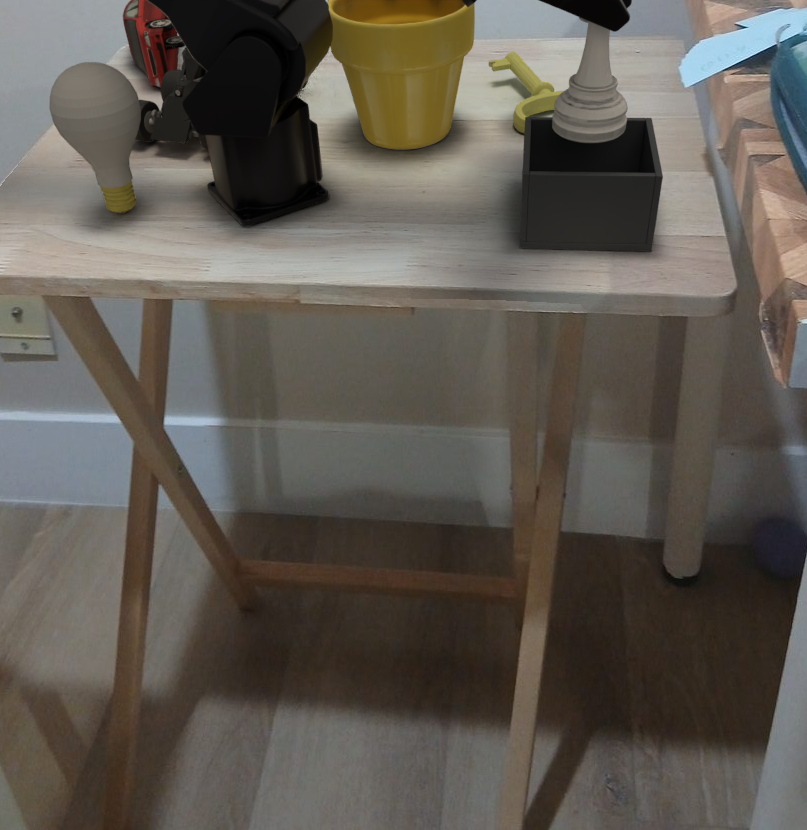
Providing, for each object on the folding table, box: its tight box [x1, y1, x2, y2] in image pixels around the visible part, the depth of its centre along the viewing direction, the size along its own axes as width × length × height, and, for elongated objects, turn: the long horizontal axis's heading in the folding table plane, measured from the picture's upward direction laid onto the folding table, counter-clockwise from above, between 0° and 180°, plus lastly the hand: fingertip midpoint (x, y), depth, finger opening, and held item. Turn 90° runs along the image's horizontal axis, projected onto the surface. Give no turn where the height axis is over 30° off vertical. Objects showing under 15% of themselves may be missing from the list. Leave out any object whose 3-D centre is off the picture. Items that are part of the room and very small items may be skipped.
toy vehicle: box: [135, 47, 208, 151], centre depth 72 cm, size 8×15×9 cm, turn 159°
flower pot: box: [326, 0, 476, 151], centre depth 68 cm, size 10×10×10 cm
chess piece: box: [551, 17, 629, 143], centre depth 53 cm, size 4×4×10 cm
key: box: [488, 51, 565, 134], centre depth 72 cm, size 7×12×2 cm, turn 36°
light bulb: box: [49, 61, 141, 215], centre depth 60 cm, size 6×6×10 cm
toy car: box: [122, 0, 185, 89], centre depth 83 cm, size 6×15×5 cm
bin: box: [518, 116, 664, 252], centre depth 58 cm, size 8×8×5 cm
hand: (624, 17), depth 52 cm, fingers closed on chess piece, 2 cm apart
